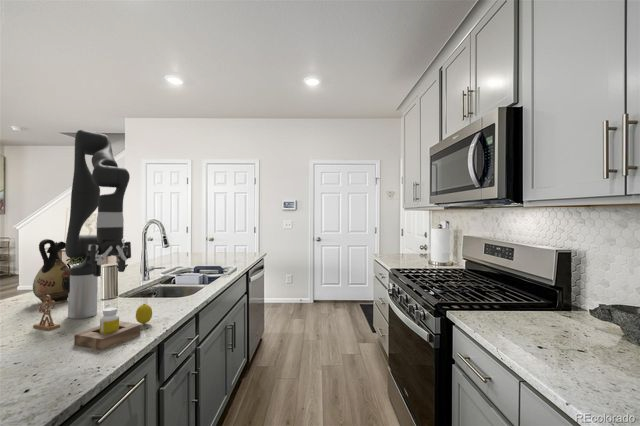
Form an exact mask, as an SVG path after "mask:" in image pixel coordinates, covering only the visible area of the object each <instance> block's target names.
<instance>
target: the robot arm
mask: <svg viewBox="0 0 640 426" xmlns="http://www.w3.org/2000/svg"><path fill="white" fill-rule="evenodd" d="M86 155H87V156H92V157H91V164H92V167H93V169H92V172H91V171H90V168H89V166H88V164H87V161H86ZM73 159H74V167H73V178H72V186H71V193H70V194H71V195H70V210H69V211H70V213H69V220H68V222H69V223H68V228H67V232H66V233H67V234H66V239H65V243H66V245H65V248H64V250H65V255H66V257H67V258H69V259H80V258H85V259H84V261H82V262H80V263H79V264H76V265H74V266H72V267H70V268H69V269H70V293H69V294H68V301H67V316H68V318H70V319H73V320H74V319H75V320H76V319H77V320H79V319H85V318H90V317H93V316H96V315H97V314H98V287H99V286H98V280H99V279H98V278H99V277H101V276H102V275H101V273H102V265H101V263H103V260H105V259H106V258H107V257H112V256H114V257H115V258H116V259H117V260H118V261H117V271H118V273H124V272H125V270H126V261H127V260H128V259H131V258H132V247H131V246H132V244H131V241H125V240H124V241H123V239H124V224H125V223H124V222H125V220H124V197H125V193H126V190H127V188H128V185H129V182H130V178H131V177H130V172H129V171H128V170H127V168H124V167H120V166H119V165H118V163H117V162H116V160H115V158H114V155H113V148H112V143H111V139H110V137H108V135H106V134H104V133H99V132H95V131H91V130H90V131H89V130H85V129H80V130H77V131H76V133H75V138H74V158H73ZM101 188H115V190H114V191H113V192H111V193H105V194H101ZM96 210H97V217H96V234H80V233H81V232H82V231H81V230H82V227H83V226H84V224H85V222H86V221H87V220H88V219H89V218H90V217H91V216H92V215H93V213H94V212H95V211H96Z"/></svg>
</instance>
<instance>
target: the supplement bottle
mask: <svg viewBox="0 0 640 426" xmlns="http://www.w3.org/2000/svg"><path fill="white" fill-rule="evenodd" d="M119 321H120V315H119V314H118V308H117V307H107V308H103V310H102V316H100V319H99V326H100V333H102V334H109V333H111V332H114V331H117V330H119Z"/></svg>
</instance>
